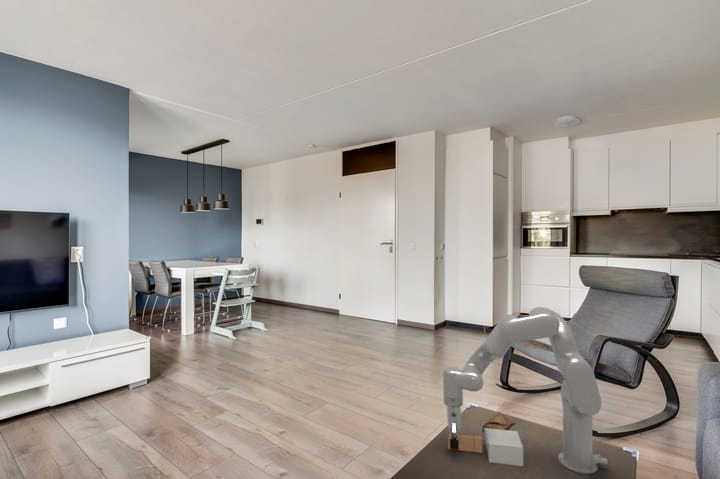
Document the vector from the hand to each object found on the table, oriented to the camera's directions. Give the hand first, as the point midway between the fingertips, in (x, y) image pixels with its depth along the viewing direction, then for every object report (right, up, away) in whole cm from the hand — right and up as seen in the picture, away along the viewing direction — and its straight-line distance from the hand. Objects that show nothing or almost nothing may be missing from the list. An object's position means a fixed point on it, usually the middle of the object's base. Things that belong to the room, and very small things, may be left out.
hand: (454, 442), depth 149 cm
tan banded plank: (+4, -2, -1) cm, 5 cm away
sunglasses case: (+25, -4, +18) cm, 31 cm away
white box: (+18, -3, -4) cm, 19 cm away
